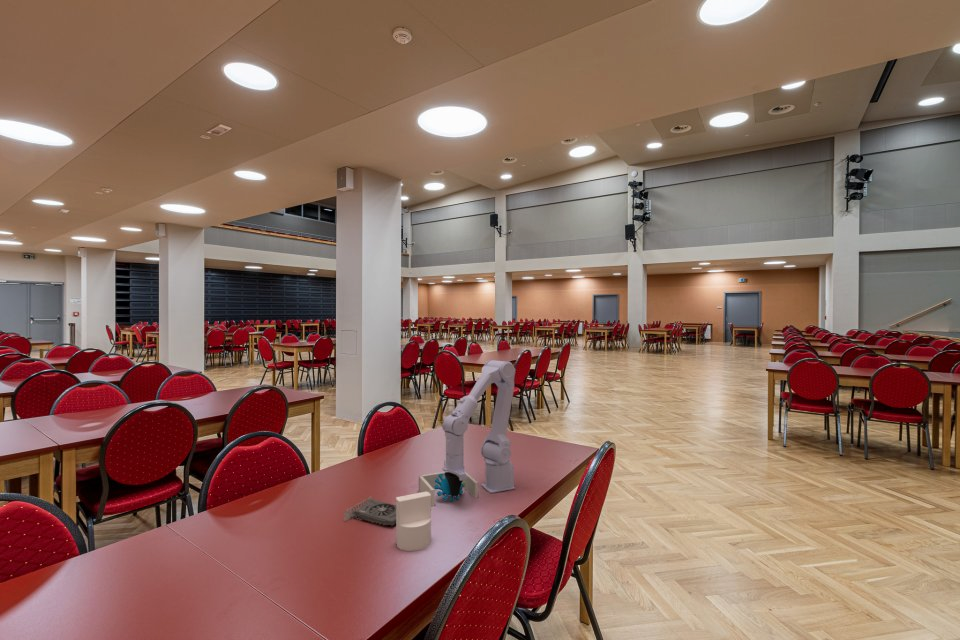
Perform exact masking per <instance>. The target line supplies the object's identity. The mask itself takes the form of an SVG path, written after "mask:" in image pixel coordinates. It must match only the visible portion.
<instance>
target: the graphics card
mask: <svg viewBox="0 0 960 640" xmlns="http://www.w3.org/2000/svg"><path fill="white" fill-rule="evenodd" d="M343 516H344V518H343V522H346V521H349V520H350V519H352V518H353V519H354V518H356V520H357V521H360V520H362V521H363V520H364V521H367V520H368V521H367V522H370V521H371V522H370V523H374V522H376V523H375V524H377V523H379V524H378V525H381V524H383V525H382V526H384V525H387V526H389V525H390V526H394V525H395V524H396V504H392V503H388V502H384V501H381V500H378V499H372V496H368V498H364V499H363V500H362V501H360V502H358V503H356V504H355V505H353V506H351V507H349V508H348V509H346V510H345V512H343ZM358 519H359V520H358ZM395 526H396V525H395Z"/></svg>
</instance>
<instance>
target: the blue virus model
mask: <svg viewBox="0 0 960 640" xmlns="http://www.w3.org/2000/svg"><path fill="white" fill-rule="evenodd" d="M444 472H445V473H446V471H444ZM445 473H444V475H445ZM438 476H439V478H440V479H441V482H440V481H439V478H437V479H436V480H435V482H436V483H438V484H439V485H440V486H441V487H439V486H438V485H437V484H436V485H435V489H434V490H438V491H437V492H436V494H437V496H438V497H440V496H441V495H443V497H442V500H443V501H444V502H445V501H447V499H448V497H449V496H450V498H449V502H451V503H452V502H454V501H455V500H456V501H457V500H459V499H460V498H461V495H463V493H464V490H463V489H464V487H465V485H466V483H465V482H464V483H463V484H461V487H460V491H459V495H458V496H454V497H455V498H454V497H453V496H452V495H451V492H450V488H449V483H448V480H447V478H446V476H445V479H443V478H442V477H443V474H439V475H438Z"/></svg>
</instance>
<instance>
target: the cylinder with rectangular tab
mask: <svg viewBox="0 0 960 640" xmlns="http://www.w3.org/2000/svg"><path fill="white" fill-rule="evenodd" d="M395 501H396V502H395V503H396V504H395V505H396V523H395V524H396V525H395V526H396V527H395V529H396V530H395V531H396V532H395V534H396V535H395V538H396V539H395V545H396V544H397V545H396V547H397V548H398V549H399V550H403V551H406V552H407V551H408V552H415V551H421V550H423V549H426V548H427V547H428V546H430V545H431V542H432V513H431V512H432V511H431V510H432V506H431V494H430V493H429V492H427V491H426V492H421V493H420V492H417V493H411V494H407V495H401V496H396V497H395Z"/></svg>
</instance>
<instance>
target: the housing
mask: <svg viewBox="0 0 960 640" xmlns="http://www.w3.org/2000/svg"><path fill="white" fill-rule="evenodd" d="M445 472H448V471H441V472H435V473H428V474H423V475H422V474H421V475H418V492H419V493H421V492H426V491H427V492H429V493H430V494H431V507H434V506H435V490H436V489H435V485H436V484H437V485H438V486H439V487H441V486H440V485H439V484H438V483H436V482H435V480H436V479H437V478H439V476H438V475H439V474H443V477H442V478H443V479H445V475H444V473H445ZM465 473H466V480H463V481H462V484H463V483H464V482H465V483H466V485H465V487H463V489H465V490H466V491H467V492H468V493H469V494H470V495H471V496H472V497H473V498H474V499H477V498H479V482H478V481H477V480H476V479H474V477H472V476H471V475H470V474H469V473H467V472H466V471H465ZM439 481H440V482H441V479H440V478H439Z"/></svg>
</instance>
